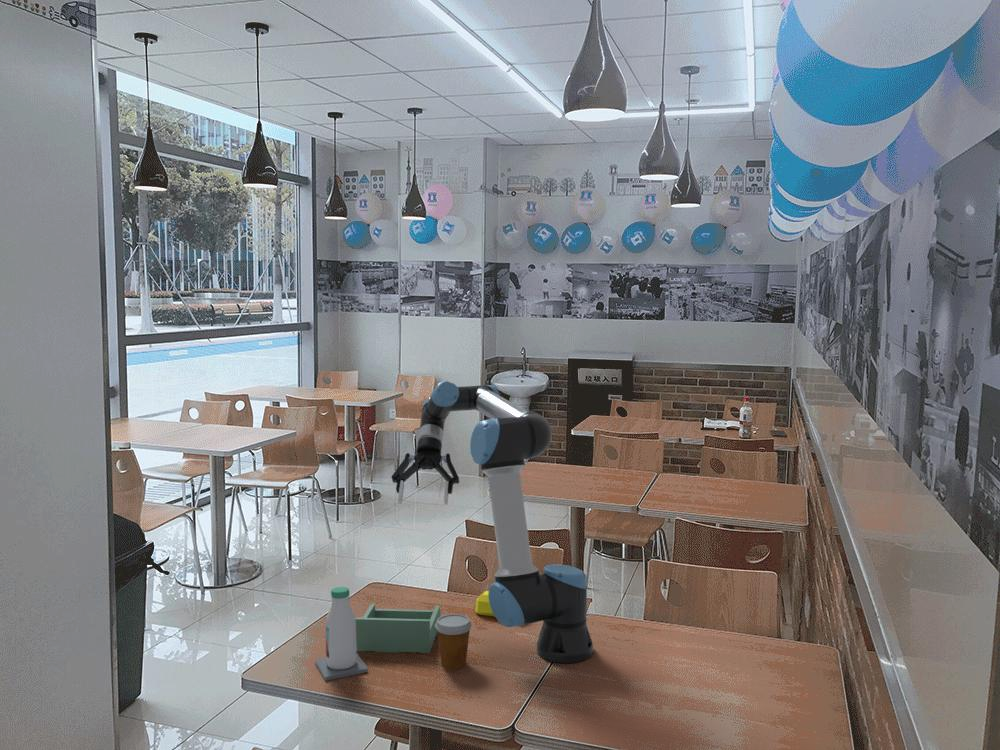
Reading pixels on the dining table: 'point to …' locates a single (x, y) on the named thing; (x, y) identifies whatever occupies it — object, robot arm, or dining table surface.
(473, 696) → the dining table surface
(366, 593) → the dining table surface
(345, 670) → the slate tile
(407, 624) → the green wooden frame
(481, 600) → the yellow faceted block
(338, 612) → the milk bottle
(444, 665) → the disposable coffee cup
